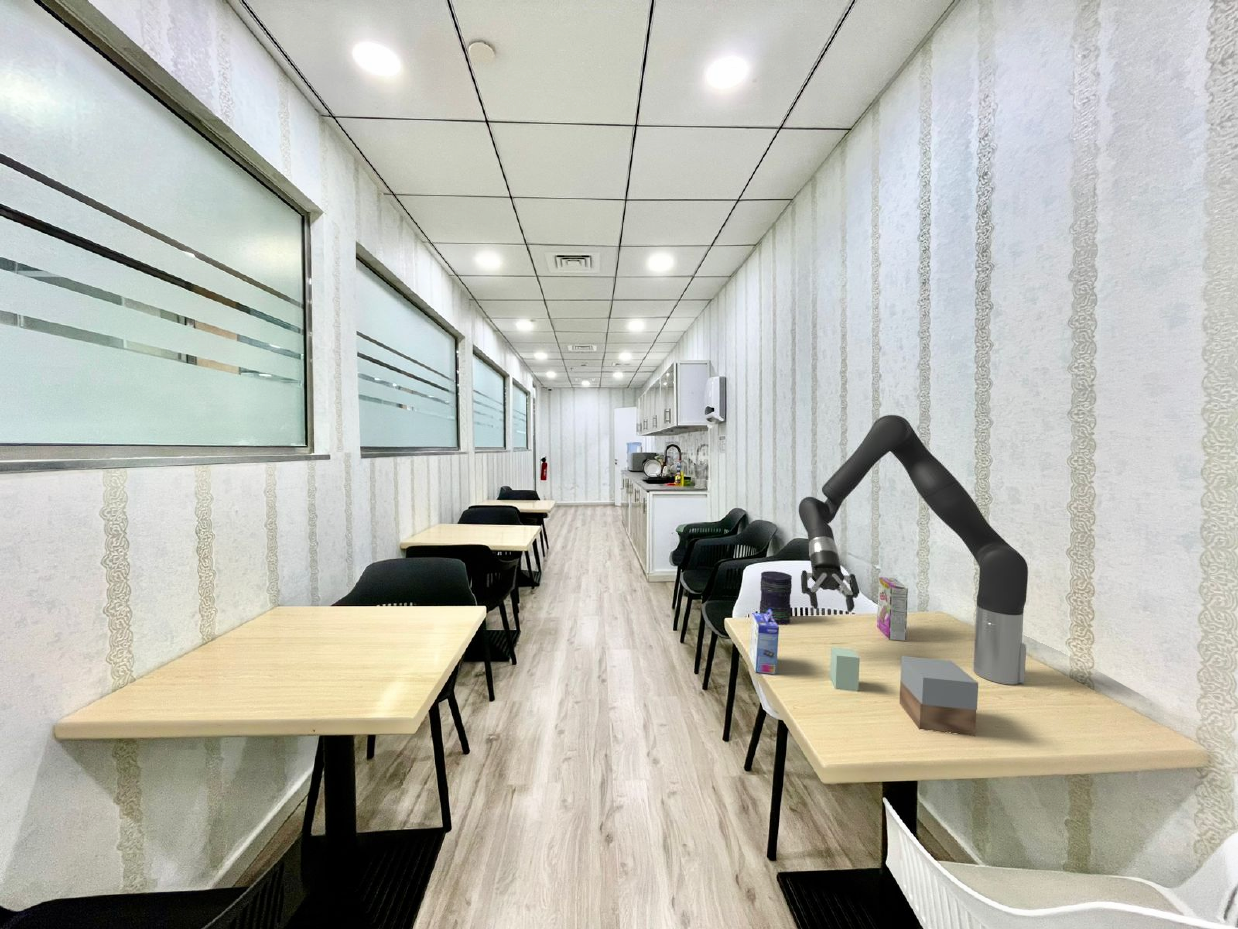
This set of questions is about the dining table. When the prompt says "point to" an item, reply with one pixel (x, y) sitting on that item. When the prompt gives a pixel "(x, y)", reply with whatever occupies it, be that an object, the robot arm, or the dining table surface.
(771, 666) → the ink cartridge box
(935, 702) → the tower top
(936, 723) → the tower base
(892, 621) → the candy bar box
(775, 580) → the storage jar
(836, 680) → the sage block
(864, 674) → the dining table surface
